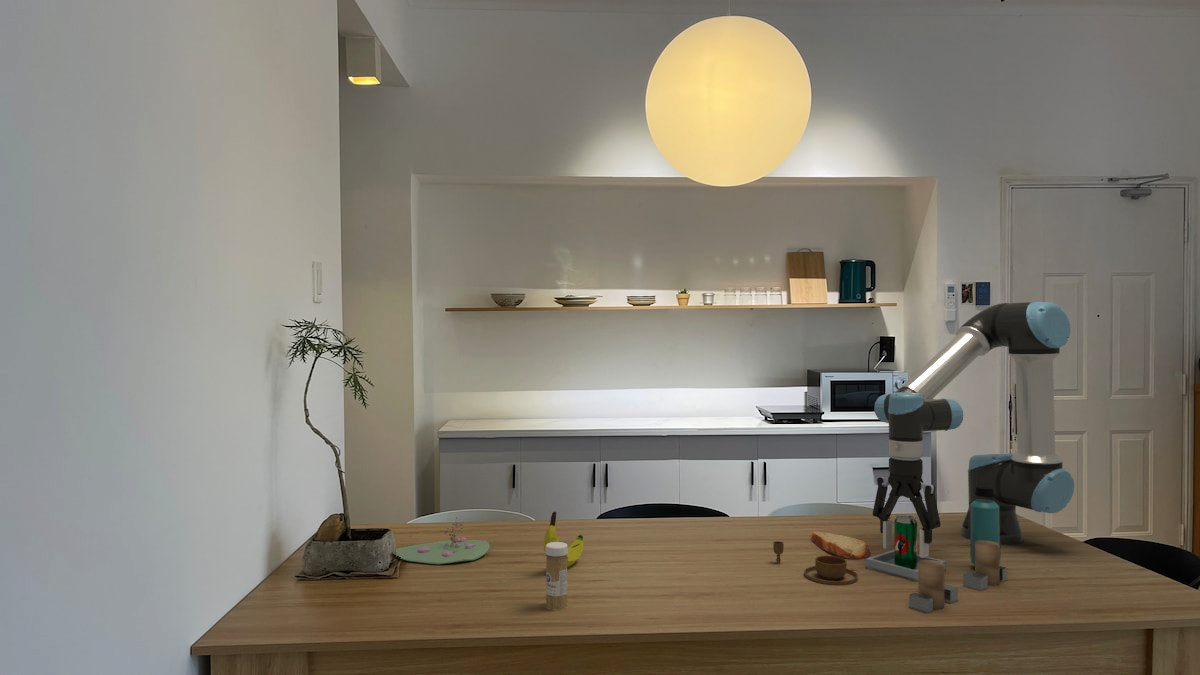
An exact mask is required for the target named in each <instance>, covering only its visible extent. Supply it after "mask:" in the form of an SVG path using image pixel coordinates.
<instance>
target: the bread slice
mask: <svg viewBox="0 0 1200 675" xmlns="http://www.w3.org/2000/svg"><path fill="white" fill-rule="evenodd" d="M810 541H811V542H812V543H814V545H816V546H817V547H819V548H820V549H822V550H823V551H825V552H826V553H828V554H831V555H832V556H836V557H840V558H843V559H845V560H852V561H853V560H854V561H860V560H864V559H865V560H866V558H869V556H870V555H871V549H870V547H869V545H868V544H867V543H866V541H863V540H861V539H858V538H854V537H851V536H846V535H843V534H837V533H832V532H825V531H812V534H811V536H810Z"/></svg>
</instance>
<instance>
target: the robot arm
mask: <svg viewBox="0 0 1200 675" xmlns="http://www.w3.org/2000/svg"><path fill="white" fill-rule="evenodd" d="M1070 336H1071V323H1070V320H1069V317H1068V314H1067V313H1066V312H1065V310H1064V309H1062V307H1061V306H1060V305H1058V304H1056V303H1054V302H1049V301H1046V302H1045V301H1034V302H1033V301H1031V302H1030V301H1028V302H1010V303H1009V302H1004V303H997V304H994V305H991V306H989V307H987V308H985V309H982V311H979V312H977V314H975V315H973V316H972V317H971V318H969V319H968V320H966V322H965V323H963V324H962V325H961V326H960V327H959V328H958V329H957V330H956V333H955V337H954V338H953V339H952V340H951V341H950V342H949V343H947V344H946V345H945V346H944V347H943V348H942V349H941V350H940V351H939V352H938V353H937V354H936V355H934V356H933V357H932V358H931V359H930V360H929V361H928V362H927V363H925V364H924V366H922V367H921V368H920V369H919V370H918V371H917V372H916V373H915V374H914V375H913V376H912V377H910V378H909V379H908V380H907V381H906V382H905V383H904V384H903V385H902V386H901V387H900V388H899V389H897V390H896V391H895V392H892V393H888V394H882V395H880V396H878V398H877V399H876V401H875V402H874V409H873V410H874V414H875V416H876V418H877V419H878V420H879V421H880V422H882V423H886V424H888V455H889V456H890V457H889V458H888V473H889V476H888V477H887V476H881V477H877V479H876V482H877V489H876V495H875V499H874V503H873V504H874V505H873V509H872V516H873V517H876V518H878V519H879V521H880V522H879V524H880V527H879V529H880V530H879V532H880V534H882V549H884V550H885V549H886V550H887V549H889V548H893V520H891V517H890V516H891V514H892V513H893V510H894V508H895V506H897V505H896V504H897V503H898V501H899V498H901V497H905V498H907V499H908V500H910V502H911V503H912V505H913V508H914V510H915V513H916V514H917V518H918V519H919V522H920V524H921V526H922V527H921V528H920V529H919V555H920V557H921V558H924V557H930V544H932V542H933V529H938V528H941V526H942V525H941V520H940V515H939V509H938V504H937V501H936V500H937V499H936V485H935V484H933V483H932V484H928V483H925V482H924V481H923V474H924V473H923V471H924V470H923V469H924V468H923V467H924V466H923V464H924V463H923V462H924V461H923V460H922V457H923V456H924V454H923V453H924V452H923V449H924V448H923V445H924V444H923V441H924V439H923V438H924V437H923V436H924V432H934V431H935V432H937V431H944V432H945V431H946V432H947V431H949V430H950V431H951V430H956V429H958V428H959V427H960V426H961V425H962V424H963V421H964V411H963V408H962V405H961V404H960V403H959V402H958V401H957V400H955V399H950V398H949V399H947V398H941V399H940V398H939V399H936V398H935V397H936V396H938V395H939V393H941V392H942V391H943V390H944V389H945V388H946V387H947V386H948V385H950V383H951V382H952V381H954V379H956V378H957V377H958V376H959V375H960V374H961V373H962V372H963V371H964V370H965V369H967V367H968V366H969V365H970V364H971V363H973V361H975V359H977V358H978V357H979V356H985V355H987V354H988V353H989V352H990V351H992V350H993V349H997V348H1000V347H1001V348H1002V347H1007V350H1008V353H1007V354H1008V356H1010V357H1011V359H1012V360H1014V363H1015V368H1014V369H1015V370H1014V371H1015V398H1016V399H1015V402H1016V404H1015V405H1016V409H1015V410H1016V437H1017V438H1016V441H1017V443H1016V444H1017V445H1016V446H1017V452H1015V454H1011V453H991V454H989V453H988V454H976V455H973V456H971V457H970V458H969V460H968V469H967V474H968V476H967V478H968V480H967V482H968V483H967V484H968V508H967V512H966V513H965V514H966V515H965V517H964V520H963V523H962V525H961V536H962V537H964V538H965V539H968V540H971V536H970V535H971V506H970V504H971V503H972V502H973V501H975V500H977V499H986V500H992V501H994V502H996V503H997V504H998V505H999V526H1000V540H1001V542H1000V544H1001V546H1003V545H1009V546H1010V545H1018V544H1021V543H1022V542H1023V541H1024V533H1023V532H1024V531H1023V529H1022V527H1021V524H1020V521H1019V518H1018V515H1017V511H1016V510H1017V509H1016V507H1019V508H1023V509H1029V510H1032V511H1034V512H1037V513H1047V514H1056V513H1059V512H1061V511H1062V510H1064V509H1065V508H1066V507H1067V506H1068V504H1069V503H1070V502H1071V500H1072V497H1073V495H1074V491H1075V480H1074V478H1073V476H1072V473H1070V472H1069V471H1068V470H1066V469H1064V468H1063V459H1062V458H1061V457H1060V456H1059V455H1058V454H1057V453H1056V429H1055V428H1056V426H1055V391H1054V389H1055V388H1054V384H1055V383H1054V382H1055V380H1054V360H1055V359H1056V358H1057V357H1058V356H1060V354H1061V351H1060V350H1061V348H1062V347H1063V346H1065V345H1066V344H1067V343H1068V339H1069V338H1070ZM889 485H890V487H891V489H890V492H889V494H888V498H887V492H888V486H889ZM976 486H989V487H992V488H993V489H994V497H981V496H976V495H975V489H976ZM921 490H922V493H923V494H924V497H923V496H922V493H921ZM923 498H924V501H925V503H924V501H923ZM886 499H887V500H886Z"/></svg>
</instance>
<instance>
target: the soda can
mask: <svg viewBox="0 0 1200 675" xmlns="http://www.w3.org/2000/svg"><path fill="white" fill-rule="evenodd" d="M895 517H896V518H895V519H894V533H893V535H894V536H893V538H894V539H893V540H894V543H893V544H894V545H893V546H894V549H893V550H894V564H895V565H898V566H901V567H905V568H909V569H915V568H916V567H917V554H918V522H917V520H916V519H917V518H916V517H915V516H913V515H910V514H898V515H896V516H895Z"/></svg>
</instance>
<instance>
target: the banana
mask: <svg viewBox="0 0 1200 675" xmlns="http://www.w3.org/2000/svg"><path fill="white" fill-rule="evenodd" d="M556 519H557V511H553V512H552V514H551V517H550V522H549V526H548V528H547V529H546V532H545V535H544V540H543V551H544V552H545V550H546V544H548V543H551V542H560V541H559V539H558V537H557V534H556V522H557V521H556ZM584 545H585V544H584V538H583V535H582V534H579V535H577V537H576V538H575V540H574V541H573V542H572V544H571V545H570V546H569V547H568V553H567V569H568V568H570V567H572V566H573V565H574V564H575V563H576V562H577V561H578V560H579V559H580V558H581V557H580V556H582V554H583V550H584Z"/></svg>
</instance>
